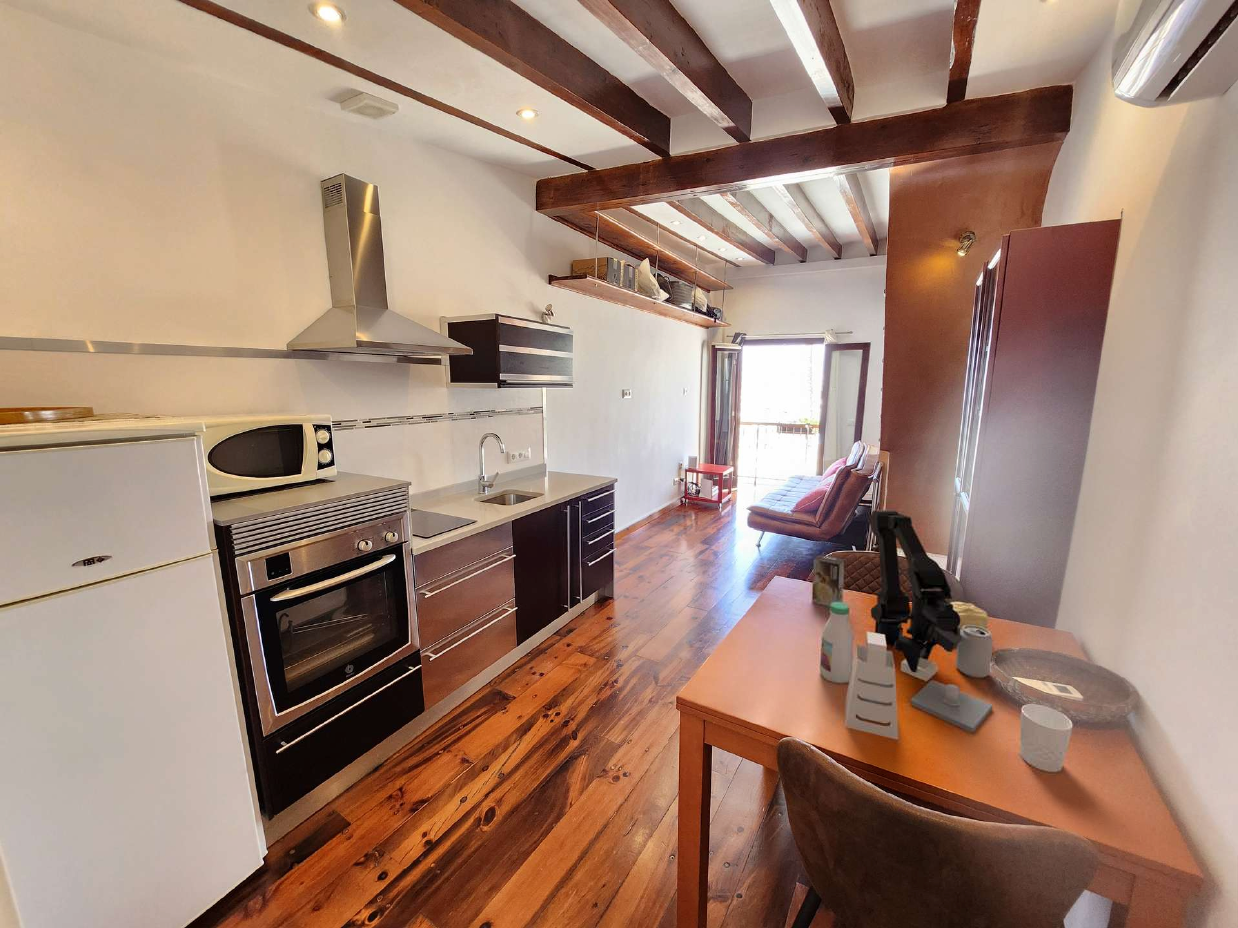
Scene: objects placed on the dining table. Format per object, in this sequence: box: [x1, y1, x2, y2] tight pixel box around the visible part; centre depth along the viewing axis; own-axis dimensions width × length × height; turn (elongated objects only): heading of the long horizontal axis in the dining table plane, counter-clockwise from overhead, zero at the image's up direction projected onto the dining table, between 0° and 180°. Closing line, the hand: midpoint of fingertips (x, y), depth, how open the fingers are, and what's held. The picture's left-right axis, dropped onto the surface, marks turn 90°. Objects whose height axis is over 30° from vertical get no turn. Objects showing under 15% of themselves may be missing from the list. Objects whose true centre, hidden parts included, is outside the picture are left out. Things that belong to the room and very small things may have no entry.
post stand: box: [909, 679, 994, 734], centre depth 119 cm, size 13×13×5 cm
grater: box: [845, 631, 899, 740], centre depth 114 cm, size 10×10×20 cm
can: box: [955, 625, 994, 679], centre depth 133 cm, size 8×8×12 cm
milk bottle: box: [819, 602, 855, 684], centre depth 131 cm, size 8×8×20 cm
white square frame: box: [900, 658, 938, 682], centre depth 134 cm, size 6×6×2 cm
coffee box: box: [811, 554, 846, 608], centre depth 175 cm, size 9×6×16 cm
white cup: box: [1019, 703, 1073, 773], centre depth 102 cm, size 8×8×10 cm
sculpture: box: [950, 601, 990, 630], centre depth 152 cm, size 12×12×11 cm
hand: (918, 667), depth 134 cm, fingers closed on white square frame, 6 cm apart
